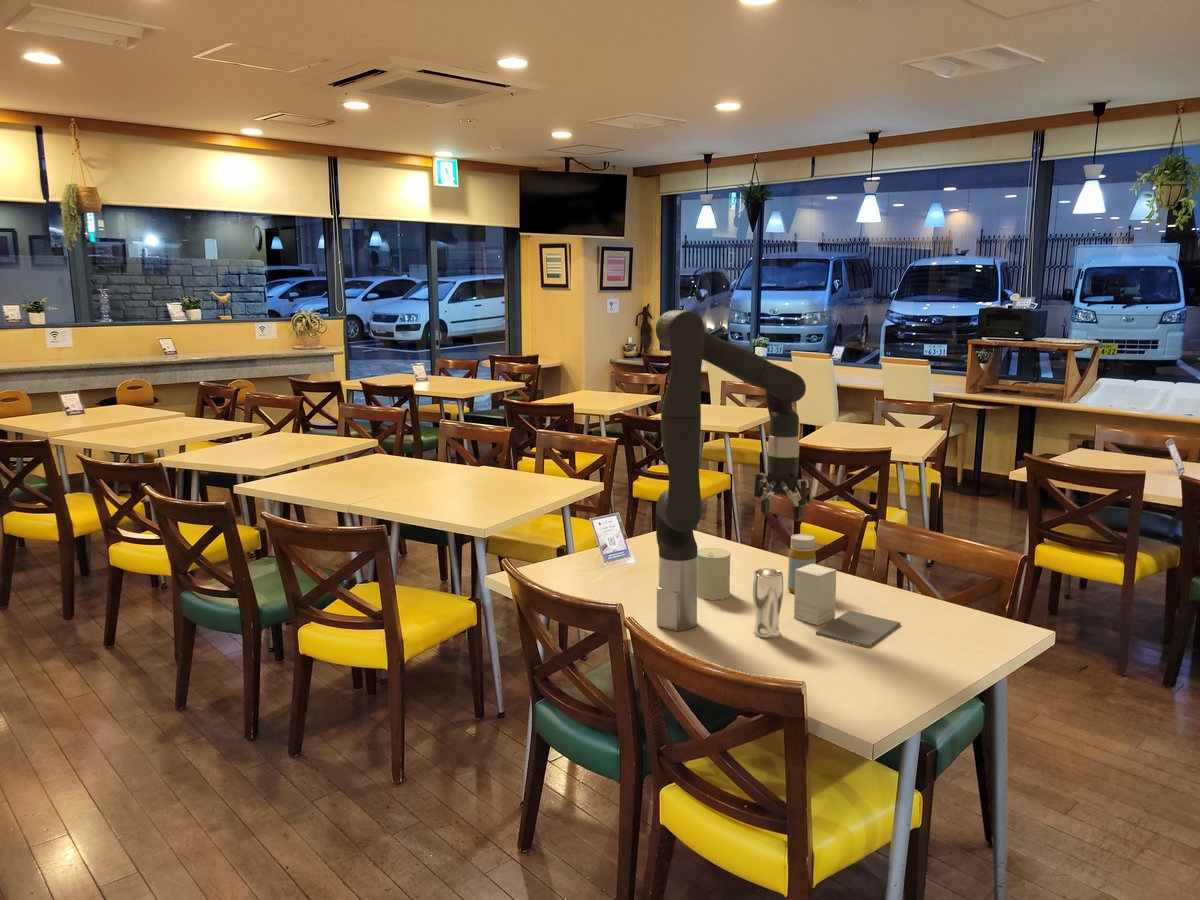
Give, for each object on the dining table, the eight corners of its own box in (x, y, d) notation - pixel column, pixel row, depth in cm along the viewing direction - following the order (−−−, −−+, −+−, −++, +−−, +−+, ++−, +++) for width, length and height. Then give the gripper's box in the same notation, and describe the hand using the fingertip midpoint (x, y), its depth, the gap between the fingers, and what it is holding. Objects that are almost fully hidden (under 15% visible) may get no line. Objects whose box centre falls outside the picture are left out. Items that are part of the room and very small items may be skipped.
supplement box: (835, 618, 215) (837, 569, 213) (817, 626, 211) (819, 576, 208) (811, 610, 221) (812, 562, 219) (792, 618, 216) (794, 568, 214)
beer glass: (764, 641, 202) (765, 579, 199) (745, 631, 208) (747, 570, 205) (788, 636, 205) (790, 574, 202) (769, 626, 211) (770, 566, 208)
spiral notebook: (868, 648, 197) (868, 645, 197) (815, 634, 206) (815, 631, 206) (900, 624, 211) (900, 622, 211) (849, 612, 219) (849, 610, 219)
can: (691, 597, 231) (691, 554, 229) (700, 586, 239) (701, 544, 237) (725, 602, 228) (726, 557, 226) (733, 590, 236) (734, 548, 234)
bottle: (814, 596, 231) (816, 541, 229) (787, 594, 233) (789, 540, 230) (814, 587, 238) (815, 534, 235) (787, 586, 239) (789, 532, 237)
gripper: (750, 452, 217) (748, 515, 220) (802, 459, 208) (799, 525, 210) (765, 448, 222) (763, 510, 225) (817, 454, 213) (814, 519, 216)
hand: (781, 517), depth 218 cm, fingers open, 8 cm apart
